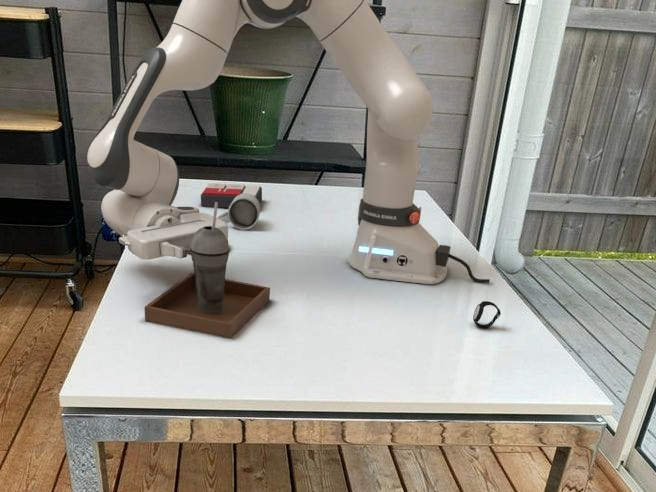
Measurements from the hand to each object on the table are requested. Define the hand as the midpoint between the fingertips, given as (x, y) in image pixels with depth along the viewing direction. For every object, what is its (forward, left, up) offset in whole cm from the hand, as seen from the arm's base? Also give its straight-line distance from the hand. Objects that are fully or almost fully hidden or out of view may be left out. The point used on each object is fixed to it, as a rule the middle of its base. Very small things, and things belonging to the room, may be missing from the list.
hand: (204, 249), depth 141 cm
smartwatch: (-52, -16, -12) cm, 56 cm away
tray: (-1, +1, -11) cm, 12 cm away
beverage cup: (-1, +1, -11) cm, 11 cm away
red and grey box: (+23, -69, -12) cm, 74 cm away
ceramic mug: (+14, -52, -12) cm, 55 cm away
